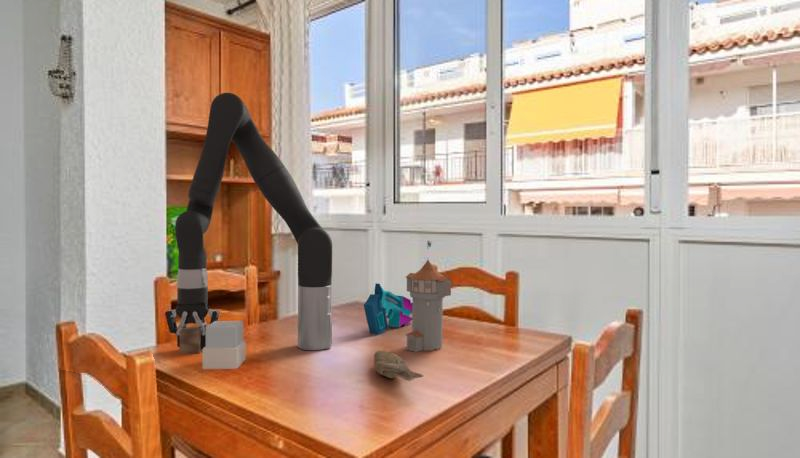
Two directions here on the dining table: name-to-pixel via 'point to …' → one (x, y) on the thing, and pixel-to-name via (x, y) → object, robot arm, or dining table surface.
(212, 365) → the tower base
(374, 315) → the toy gun
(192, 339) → the walnut block
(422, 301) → the model building
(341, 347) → the dining table surface
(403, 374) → the sculpture
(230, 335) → the tower top
